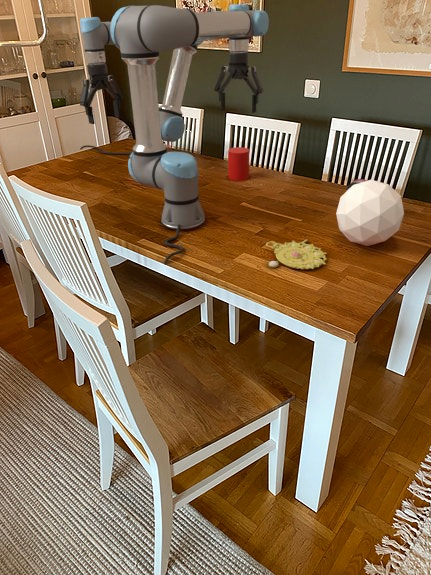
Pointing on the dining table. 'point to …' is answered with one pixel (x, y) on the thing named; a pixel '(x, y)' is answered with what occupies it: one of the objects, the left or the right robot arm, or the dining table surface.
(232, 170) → the canister
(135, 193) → the dining table surface
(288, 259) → the decorative object
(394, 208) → the sphere
